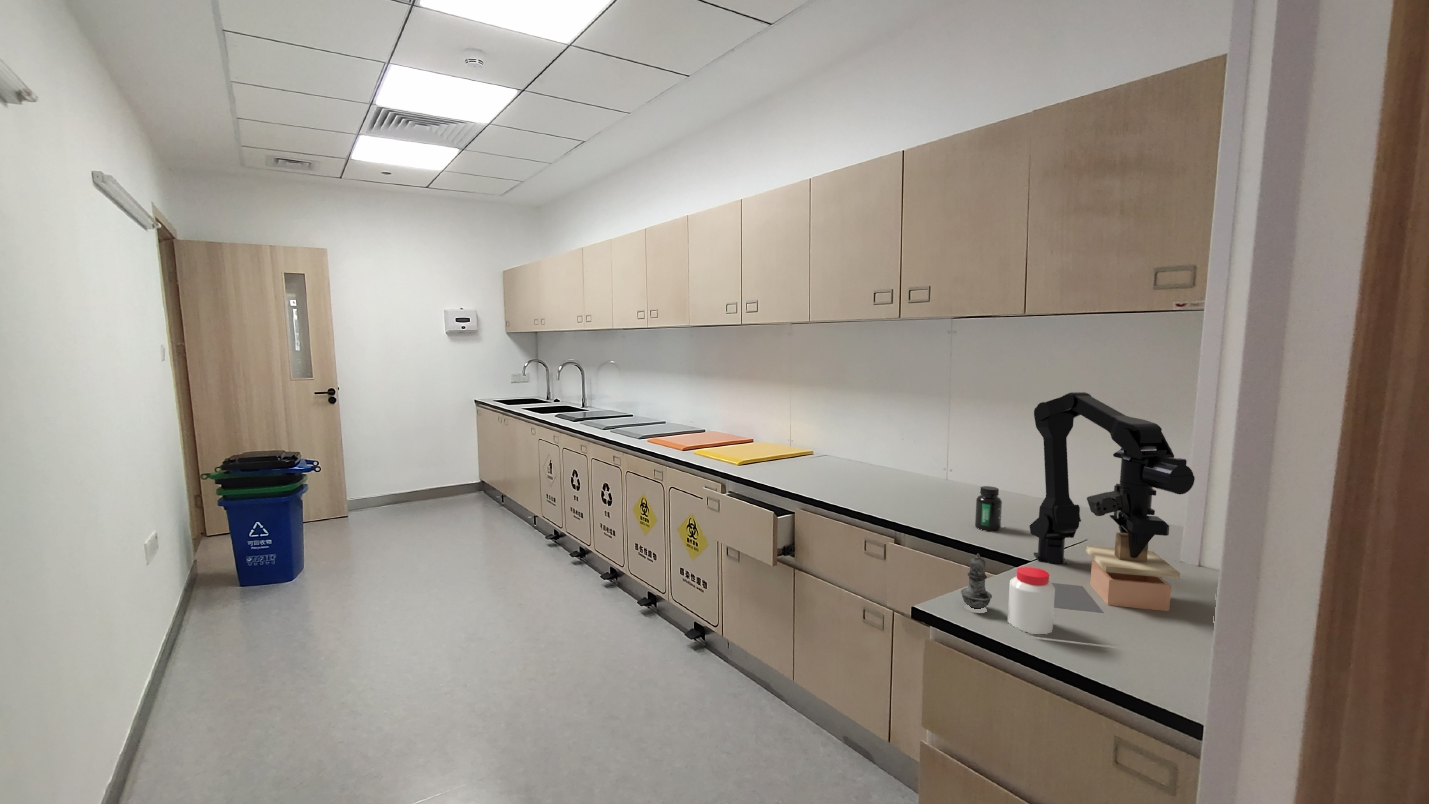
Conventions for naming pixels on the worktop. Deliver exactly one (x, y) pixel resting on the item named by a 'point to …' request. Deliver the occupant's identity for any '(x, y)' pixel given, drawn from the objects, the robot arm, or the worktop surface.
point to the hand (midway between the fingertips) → (1130, 554)
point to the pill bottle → (1031, 601)
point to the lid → (1131, 560)
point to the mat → (1074, 598)
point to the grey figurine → (976, 585)
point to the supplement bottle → (988, 509)
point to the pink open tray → (1131, 589)
